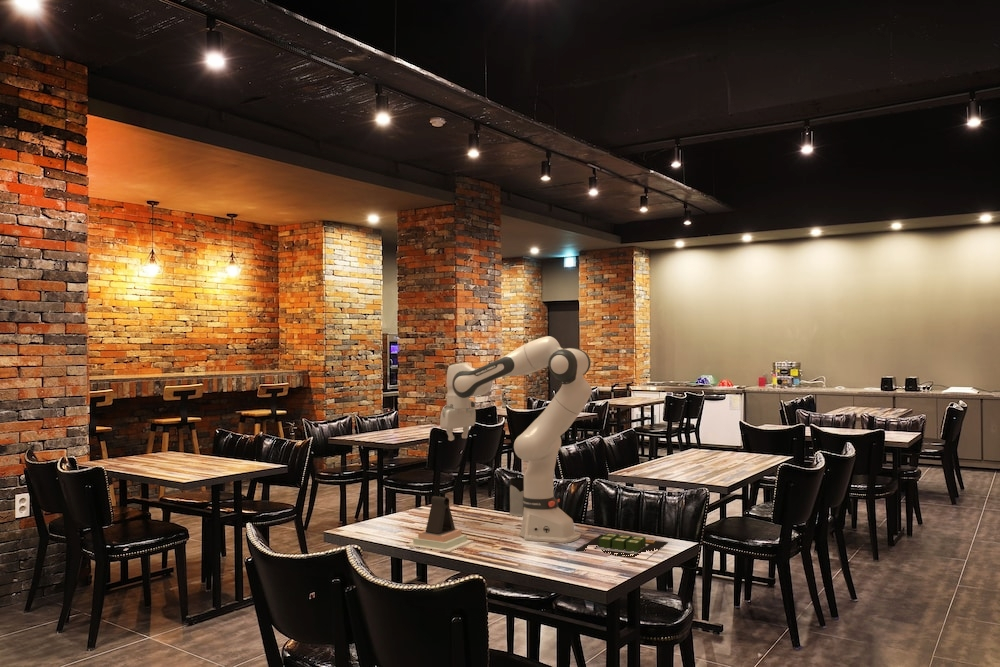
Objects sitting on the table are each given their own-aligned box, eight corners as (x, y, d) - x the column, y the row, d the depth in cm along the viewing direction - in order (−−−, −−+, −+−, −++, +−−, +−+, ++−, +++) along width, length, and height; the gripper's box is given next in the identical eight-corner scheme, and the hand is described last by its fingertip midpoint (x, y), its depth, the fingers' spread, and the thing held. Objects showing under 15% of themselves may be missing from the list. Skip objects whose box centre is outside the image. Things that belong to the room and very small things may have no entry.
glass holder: (504, 514, 310) (504, 478, 311) (532, 510, 318) (531, 475, 319) (516, 517, 303) (516, 481, 304) (544, 513, 311) (544, 477, 311)
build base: (473, 541, 264) (473, 528, 265) (448, 552, 251) (448, 538, 251) (432, 536, 273) (432, 523, 274) (406, 545, 260) (406, 532, 260)
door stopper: (442, 527, 267) (442, 494, 268) (455, 529, 264) (454, 495, 264) (425, 532, 260) (425, 497, 261) (438, 534, 257) (438, 499, 257)
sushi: (668, 544, 261) (667, 534, 261) (646, 562, 239) (646, 550, 239) (601, 536, 273) (601, 526, 273) (574, 552, 251) (574, 541, 251)
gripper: (449, 405, 280) (449, 442, 279) (478, 402, 297) (478, 437, 297) (436, 405, 283) (436, 441, 282) (465, 402, 301) (465, 436, 300)
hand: (458, 439), depth 290 cm, fingers open, 8 cm apart
